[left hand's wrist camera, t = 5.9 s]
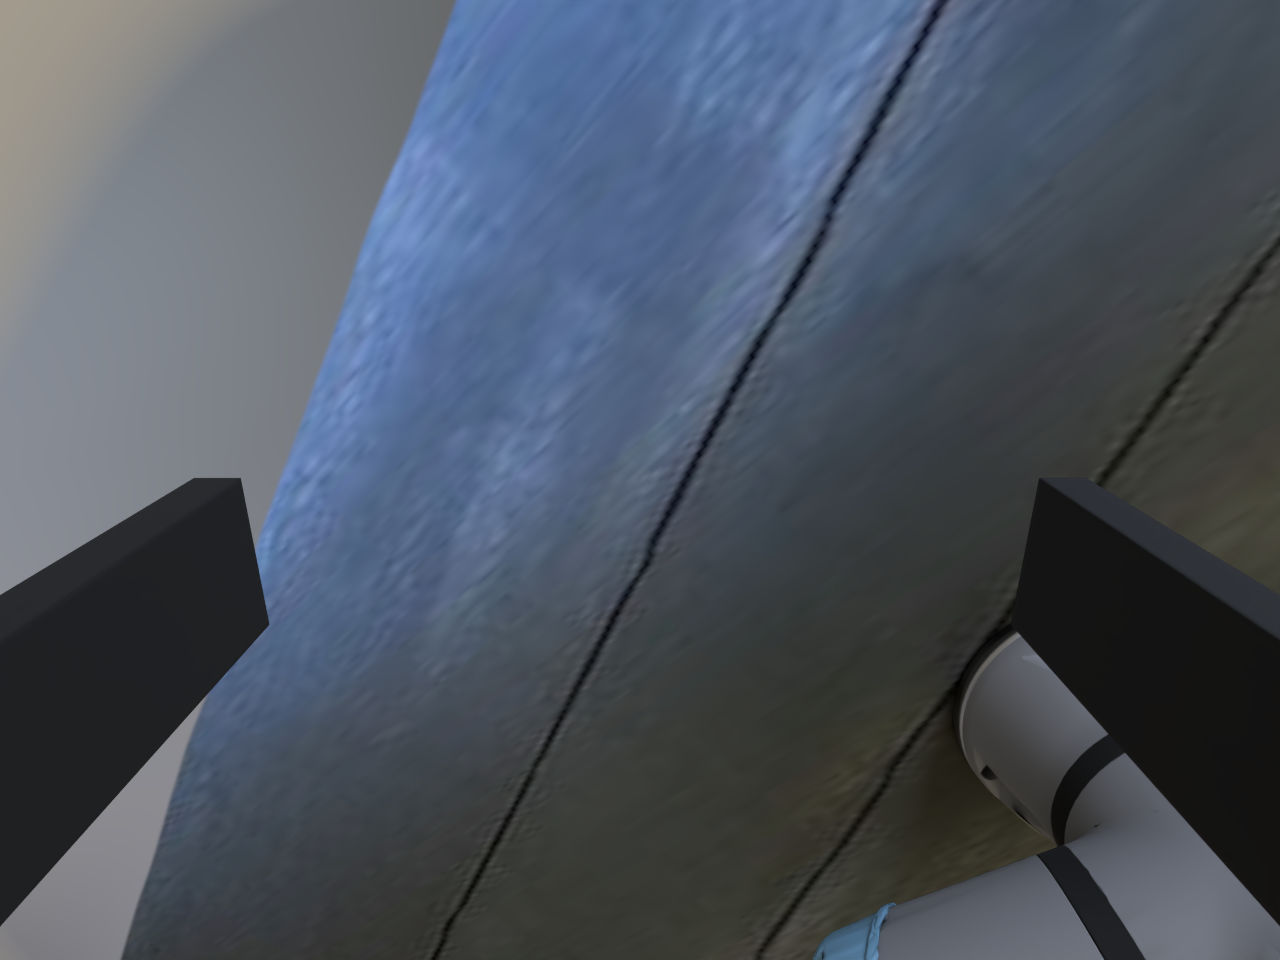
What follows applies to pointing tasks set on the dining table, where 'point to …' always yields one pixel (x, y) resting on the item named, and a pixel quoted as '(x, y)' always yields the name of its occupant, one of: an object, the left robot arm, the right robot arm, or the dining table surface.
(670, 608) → the dining table surface
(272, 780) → the dining table surface
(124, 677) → the left robot arm
